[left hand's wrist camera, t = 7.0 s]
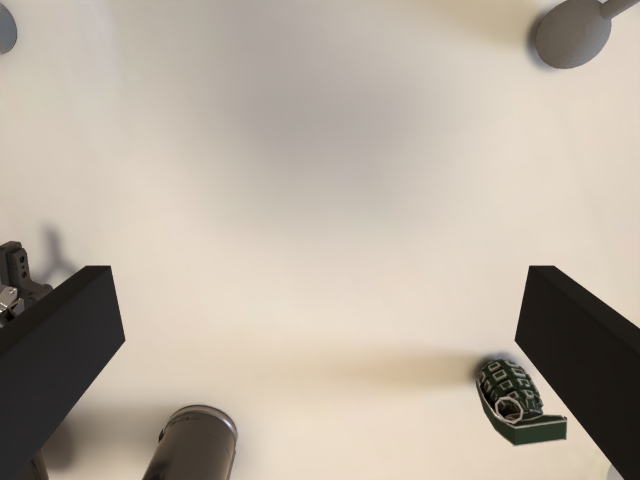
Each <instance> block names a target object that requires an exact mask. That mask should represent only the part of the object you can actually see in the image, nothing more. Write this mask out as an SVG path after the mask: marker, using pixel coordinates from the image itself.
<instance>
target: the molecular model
mask: <svg viewBox="0 0 640 480" xmlns="http://www.w3.org/2000/svg"><path fill="white" fill-rule="evenodd" d="M639 1H640V0H608V1H606V2H605V3H603V4H602V3H601V2H599V1H598V0H567V1H565V2H563V3H561V4H559V5H558V6H556V7H555V8H553V9H552V10H551V11H550V12H549V13H548V14H547V16H546V17H545V18H544V19H543V21H542V22H541V24H540V26H539V29H538V32H537V36H536V48H537V51H538V54H539V56H540V58H541V59H542V60H543V61H544V62H545V63H547V64H548V65H550V66H552V67H555V68H560V69H569V68H574V67H578V66H581V65H583V64H585V63H587V62H588V61H590V60H591V59H593V58H594V57H595V56H596V55H597V54H598V53H599V52H600V51H601V50H602V48H603V47H604V45H605V44H606V42H607V40H608V38H609V35H610V32H611V19H612V18H613V17H615V16H616V15H618V14H620V13H621V12H623V11H625V10H626V9H628V8H630V7H631V6H633V5H634V4H636V3H638V2H639Z"/></svg>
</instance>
